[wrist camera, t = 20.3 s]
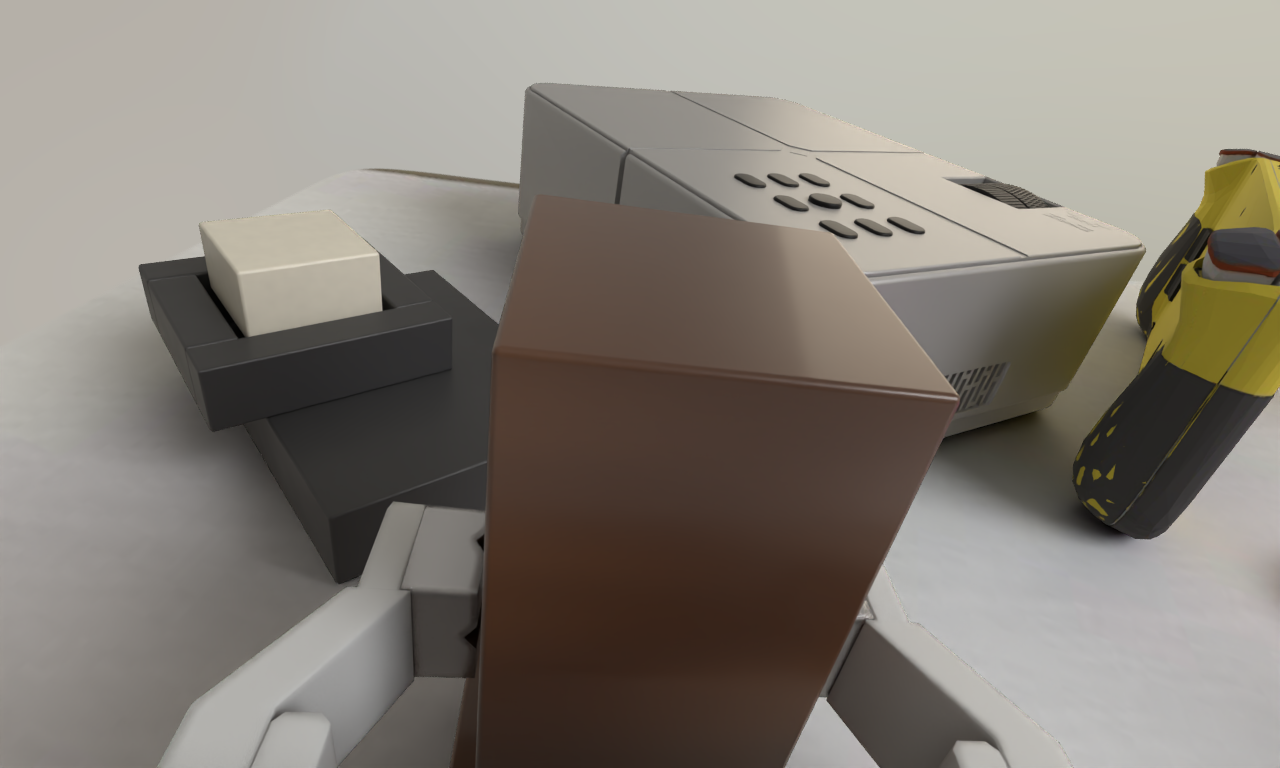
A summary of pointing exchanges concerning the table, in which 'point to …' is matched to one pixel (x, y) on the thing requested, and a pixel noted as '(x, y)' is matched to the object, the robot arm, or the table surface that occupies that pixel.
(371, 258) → the cream rectangular block
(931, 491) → the table surface
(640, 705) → the brown stepped pedestal
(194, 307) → the black stepped base
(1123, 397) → the gaming console
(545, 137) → the projector
